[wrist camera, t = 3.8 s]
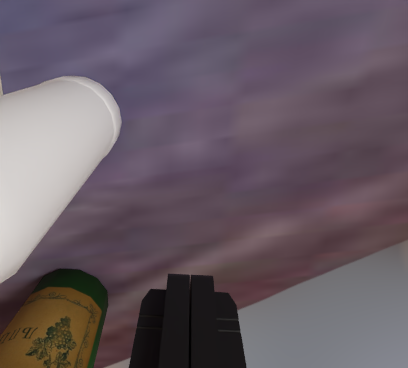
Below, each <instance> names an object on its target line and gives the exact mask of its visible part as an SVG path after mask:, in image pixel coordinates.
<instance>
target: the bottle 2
mask: <svg viewBox="0 0 408 368" xmlns="http://www.w3.org/2000/svg"><path fill="white" fill-rule="evenodd" d="M107 308H108V294H107V290H106V289H105V288H104V286H103V285H102V284H101V282H100V281H99V280H98V279H97V278H96V277H94V276H92V275H90V274H87V273H85V272H83V271H81V270H72V269H59V270H57V271H55V272H52V273H50V274H48V275H45V276H44V277H43V278H42V280H41V281H40V282H39V284H38V285H37V287H36V288H35V289H34V291H33V292H32V293H31V295H30V296H29V297H28V299H27V300H26V302H25V303H24V304H23V306H22V307H21V308H20V310H19V311H18V312H17V314H16V315H15V317H14V318H13V319H12V321H11V322H10V323H9V325H8V326H7V328H6V329H5V330H4V332H3V333H2V334H1V336H0V368H93V366H94V362H95V358H96V354H97V350H98V346H99V341H100V337H101V333H102V329H103V325H104V320H105V316H106V312H107Z"/></svg>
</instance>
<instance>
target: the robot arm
mask: <svg viewBox="0 0 408 368" xmlns="http://www.w3.org/2000/svg"><path fill="white" fill-rule="evenodd" d="M129 368H246V362H245V356H244V349H243V343H242V337H241V333H240V326H239V321H238V313H237V307H236V304H235V302H234V301H233V299H232V298H231V296H230V295H229V294H228V293H222V292H214V281H213V276H204V275H191V281H190V275H183V274H168V280H167V289H166V290H160V289H150V291H149V292H148V293H147V295H146V296H145V297H144V299H143V300H142V303H141V308H140V313H139V318H138V323H137V329H136V334H135V339H134V344H133V349H132V354H131V359H130V365H129Z"/></svg>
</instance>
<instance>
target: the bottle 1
mask: <svg viewBox="0 0 408 368" xmlns="http://www.w3.org/2000/svg"><path fill="white" fill-rule="evenodd" d="M121 122H122V121H121V116H120V110H119V107H118V105H117V103H116V101H115V100H114V98H113V96H112V94H111V93H110V92H108V91H107V90H106V89H105V88H104V87H103V86H102V85H101V84H100V83H97V82H95V81H93V80H91V79H89V78H87V77H80V76H63V77H59V78H55V79H52V80H48V81H45V82H42V83H41V84H39V85H36V86H32V87H29V88H26V89H22V90H19V91H15V92H12V93H8V94H5V95H2V96H0V283H2V282H3V281H5V280H6V279H8V278H10V277H11V276H13V275H14V274H16V272H17V271H18V270H19V268H20V267H21V266H22V264H23V263H24V262H25V260H26V259H27V258H28V256H29V255H30V254H31V253H32V251H33V250H34V249H35V247H36V246H37V245H38V243H39V242H40V241H41V239H42V238H43V237H44V235H45V234H46V233H47V231H48V230H49V229H50V227H51V226H52V225H53V224H54V222H55V221H56V220H57V218H58V217H59V216H60V214H61V213H62V212H63V210H64V209H65V208H66V206H67V205H68V204H69V202H70V201H71V200H72V198H73V197H74V196H75V194H76V193H77V192H78V191H79V189H80V188H81V187H82V185H83V184H84V183H85V181H86V180H87V179H88V177H89V176H90V175H91V173H92V172H93V171H94V169H95V168H96V167H97V165H98V164H99V163H100V162H101V160H102V159H103V158H104V157H105V156H106V155H107V154H108V153H109V151H110V150H111V148H112V147H113V145H114V144H115V142H116V140H117V138H118V136H119V133H120V128H121Z"/></svg>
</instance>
